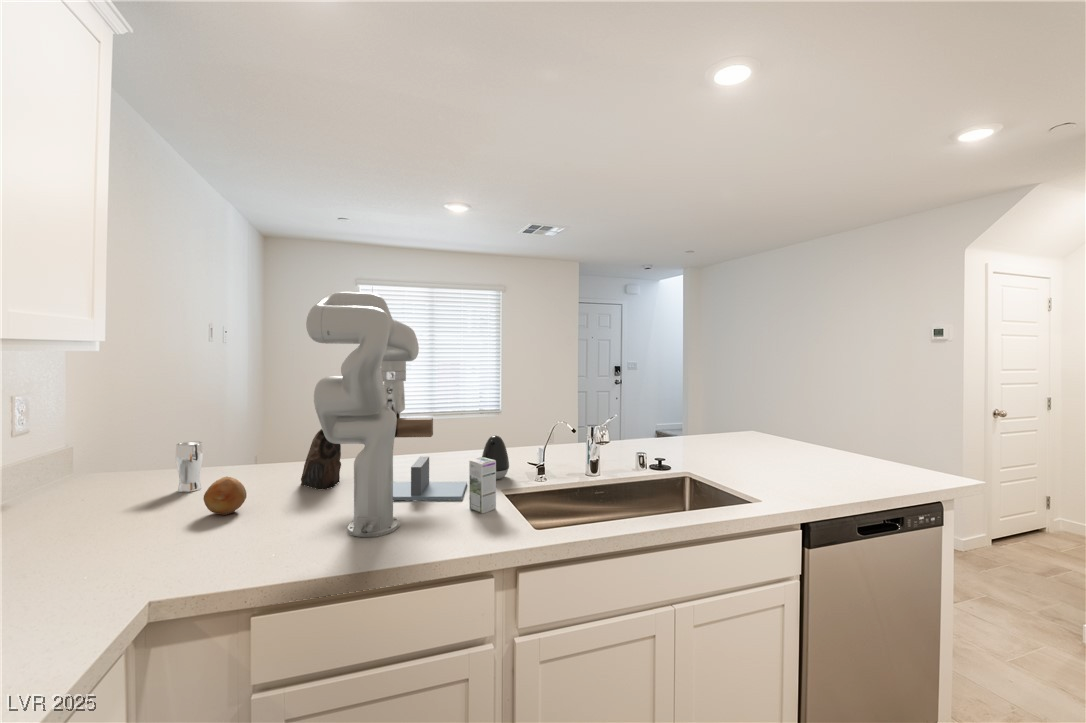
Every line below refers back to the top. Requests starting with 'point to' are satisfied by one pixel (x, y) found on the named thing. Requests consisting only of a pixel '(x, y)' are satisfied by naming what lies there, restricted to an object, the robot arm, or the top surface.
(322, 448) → the owl
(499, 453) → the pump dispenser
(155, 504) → the top surface
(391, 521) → the robot arm
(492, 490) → the syrup box
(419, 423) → the walnut bar
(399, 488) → the balance stand
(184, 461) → the beer glass
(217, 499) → the onion
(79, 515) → the top surface
